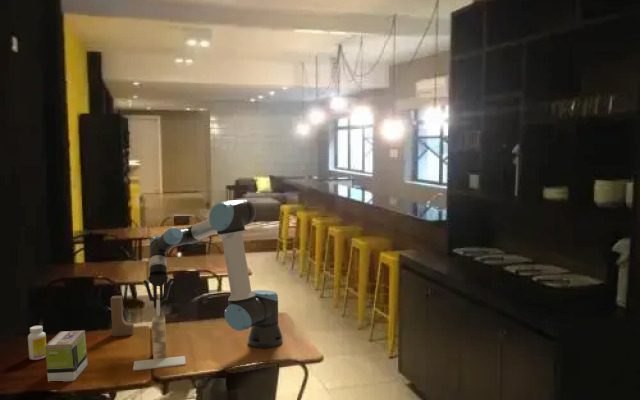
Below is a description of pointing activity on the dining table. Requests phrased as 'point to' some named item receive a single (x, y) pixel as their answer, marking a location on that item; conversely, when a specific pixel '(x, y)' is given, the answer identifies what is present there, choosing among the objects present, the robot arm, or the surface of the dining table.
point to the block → (159, 337)
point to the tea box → (66, 356)
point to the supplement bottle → (36, 343)
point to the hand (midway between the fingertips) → (158, 314)
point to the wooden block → (119, 318)
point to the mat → (159, 363)
